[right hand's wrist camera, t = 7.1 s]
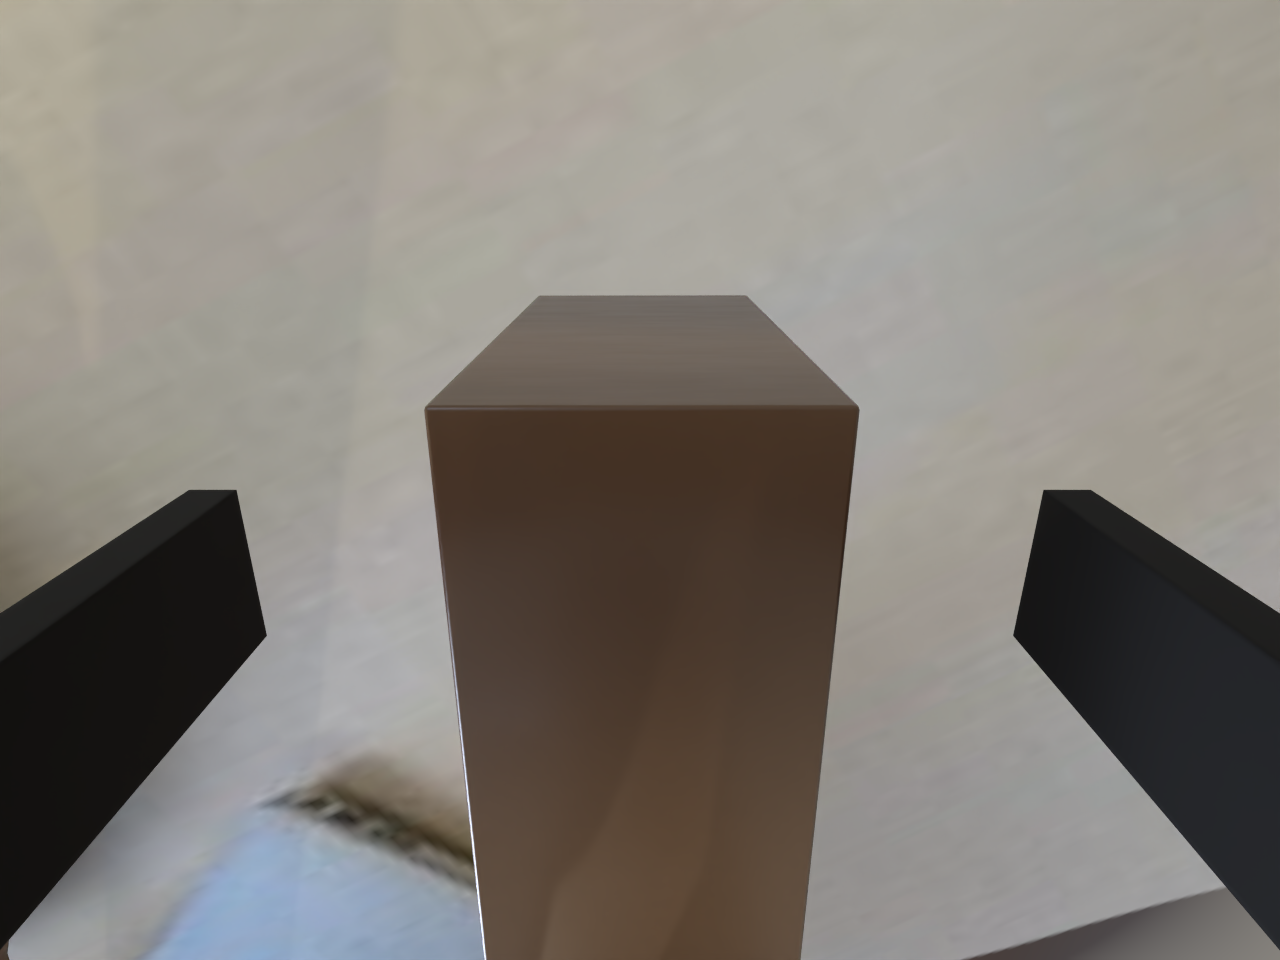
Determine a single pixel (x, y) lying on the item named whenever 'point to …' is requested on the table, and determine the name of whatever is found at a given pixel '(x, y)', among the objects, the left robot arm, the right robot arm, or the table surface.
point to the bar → (642, 623)
